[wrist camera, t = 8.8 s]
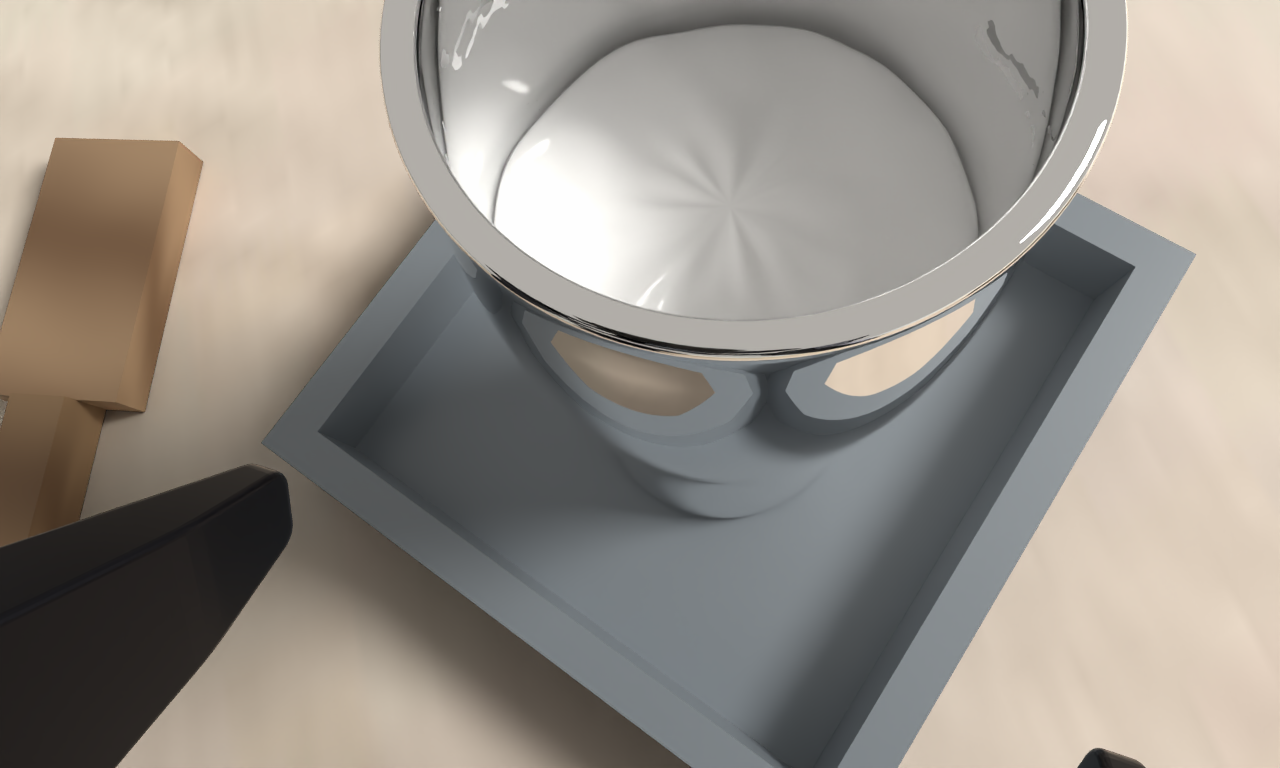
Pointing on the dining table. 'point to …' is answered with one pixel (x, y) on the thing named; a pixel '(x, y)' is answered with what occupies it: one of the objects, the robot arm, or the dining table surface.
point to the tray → (745, 546)
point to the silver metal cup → (745, 204)
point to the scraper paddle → (86, 316)
